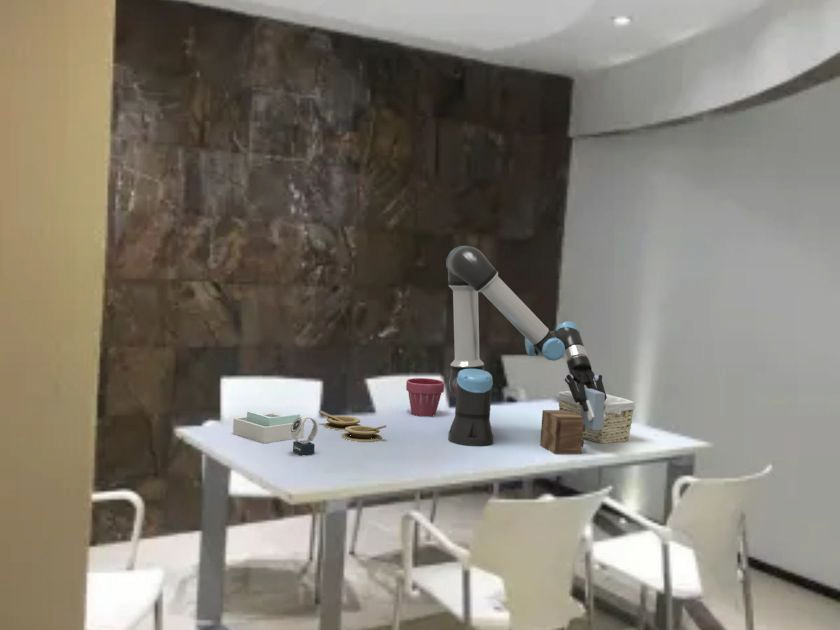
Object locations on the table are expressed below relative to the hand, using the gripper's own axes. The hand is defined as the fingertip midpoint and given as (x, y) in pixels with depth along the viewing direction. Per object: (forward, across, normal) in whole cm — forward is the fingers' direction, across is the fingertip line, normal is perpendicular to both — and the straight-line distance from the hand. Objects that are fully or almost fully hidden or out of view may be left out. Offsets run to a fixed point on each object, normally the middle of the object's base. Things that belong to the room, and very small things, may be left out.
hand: (597, 418), depth 300 cm
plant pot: (-35, +40, -51) cm, 74 cm away
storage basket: (-8, -12, -25) cm, 29 cm away
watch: (+5, +96, -9) cm, 97 cm away
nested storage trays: (-12, +104, -26) cm, 107 cm away
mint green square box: (-11, +102, -26) cm, 106 cm away
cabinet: (+5, +11, -11) cm, 16 cm away
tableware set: (-14, +75, -30) cm, 82 cm away
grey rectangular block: (0, 0, -5) cm, 5 cm away
